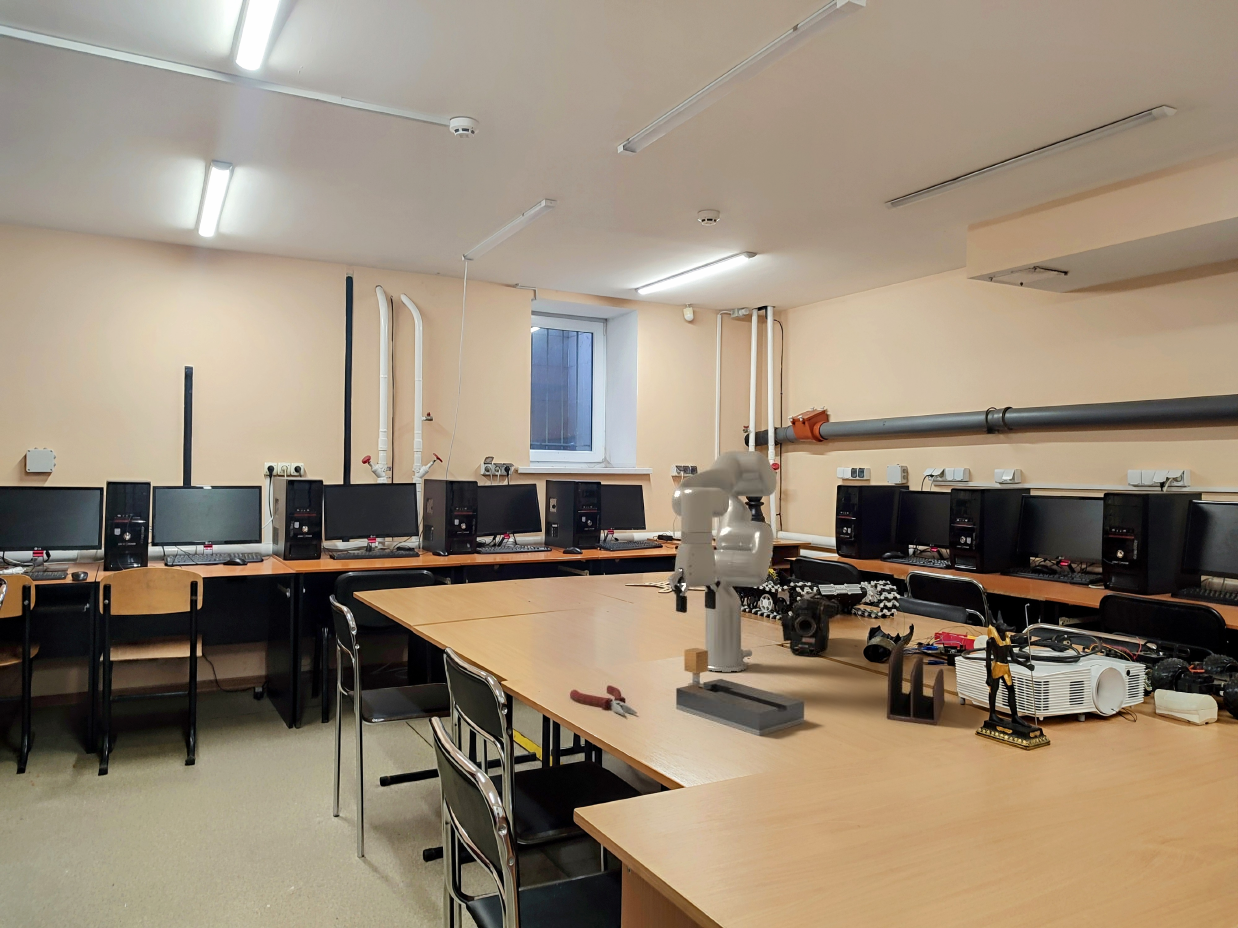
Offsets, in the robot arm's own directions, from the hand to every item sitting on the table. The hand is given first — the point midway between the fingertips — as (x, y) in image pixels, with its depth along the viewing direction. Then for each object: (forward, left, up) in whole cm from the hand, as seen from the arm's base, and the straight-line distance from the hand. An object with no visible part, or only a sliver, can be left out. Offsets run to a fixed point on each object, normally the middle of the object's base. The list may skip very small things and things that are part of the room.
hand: (696, 610), depth 196 cm
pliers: (+26, -4, -20) cm, 33 cm away
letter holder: (-26, +43, -20) cm, 54 cm away
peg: (0, 0, -19) cm, 19 cm away
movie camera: (-62, -12, -19) cm, 66 cm away
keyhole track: (+8, +21, -19) cm, 29 cm away
